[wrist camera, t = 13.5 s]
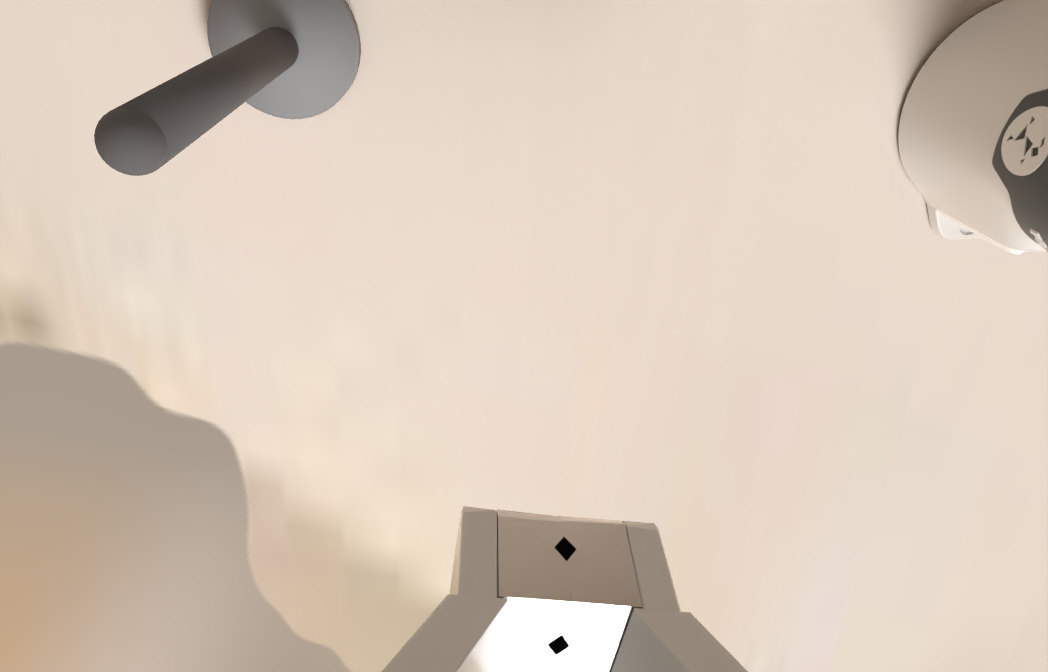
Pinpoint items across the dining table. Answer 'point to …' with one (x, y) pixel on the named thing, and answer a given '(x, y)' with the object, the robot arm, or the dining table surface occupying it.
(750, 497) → the dining table surface
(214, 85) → the cord post
